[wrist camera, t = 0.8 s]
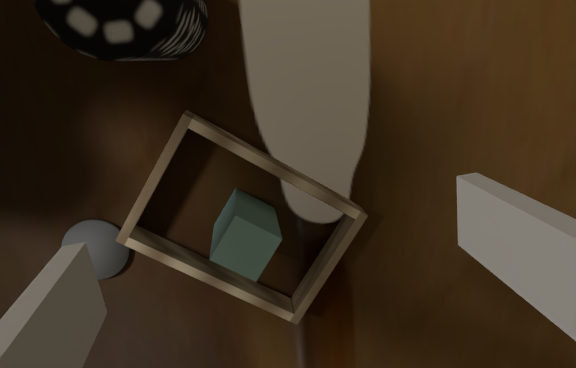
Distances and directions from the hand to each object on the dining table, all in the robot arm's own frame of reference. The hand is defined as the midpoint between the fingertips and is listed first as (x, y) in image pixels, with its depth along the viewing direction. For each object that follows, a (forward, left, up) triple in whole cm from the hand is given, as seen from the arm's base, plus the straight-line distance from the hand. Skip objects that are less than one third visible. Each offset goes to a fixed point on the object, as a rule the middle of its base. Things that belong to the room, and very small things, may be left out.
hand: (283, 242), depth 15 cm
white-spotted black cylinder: (-12, +5, -33) cm, 36 cm away
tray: (+5, -10, -33) cm, 35 cm away
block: (+5, -10, -33) cm, 35 cm away
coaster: (-8, -21, -33) cm, 40 cm away
